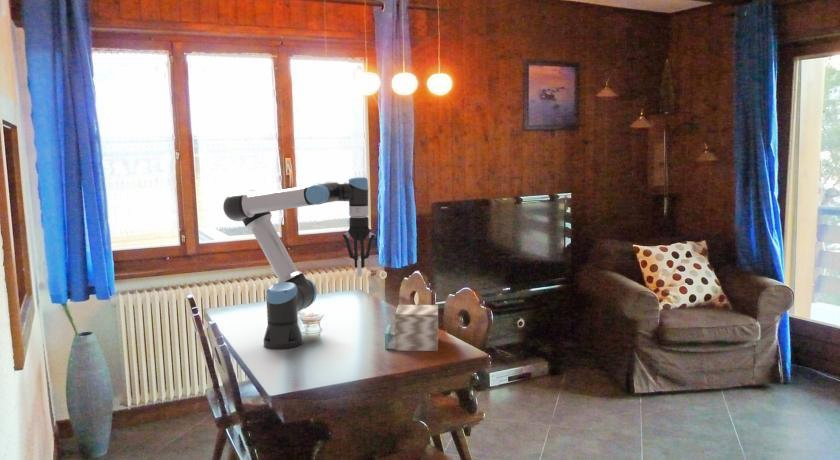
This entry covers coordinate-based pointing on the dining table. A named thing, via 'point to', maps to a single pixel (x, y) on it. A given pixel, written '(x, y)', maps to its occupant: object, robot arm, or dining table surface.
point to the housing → (416, 327)
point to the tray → (389, 339)
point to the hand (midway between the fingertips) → (359, 275)
